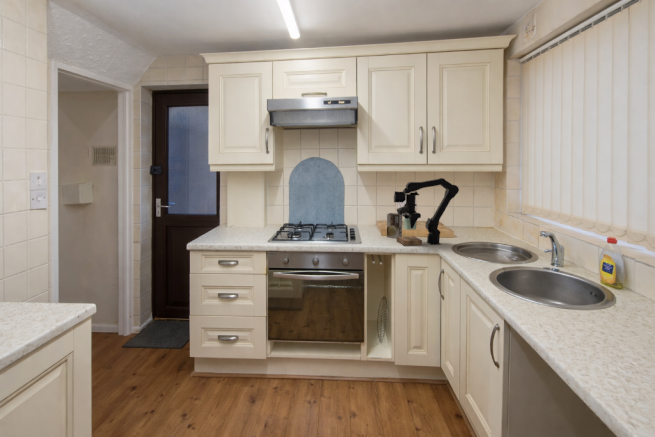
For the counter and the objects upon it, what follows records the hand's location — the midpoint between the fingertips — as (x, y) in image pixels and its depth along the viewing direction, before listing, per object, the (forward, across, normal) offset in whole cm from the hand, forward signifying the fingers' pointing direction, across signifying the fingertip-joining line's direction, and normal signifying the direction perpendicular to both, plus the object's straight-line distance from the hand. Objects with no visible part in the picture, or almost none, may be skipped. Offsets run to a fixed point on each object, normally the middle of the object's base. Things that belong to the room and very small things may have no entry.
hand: (409, 227), depth 223 cm
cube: (+1, 0, 0) cm, 1 cm away
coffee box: (+10, -19, -3) cm, 22 cm away
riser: (+10, 0, 0) cm, 10 cm away
